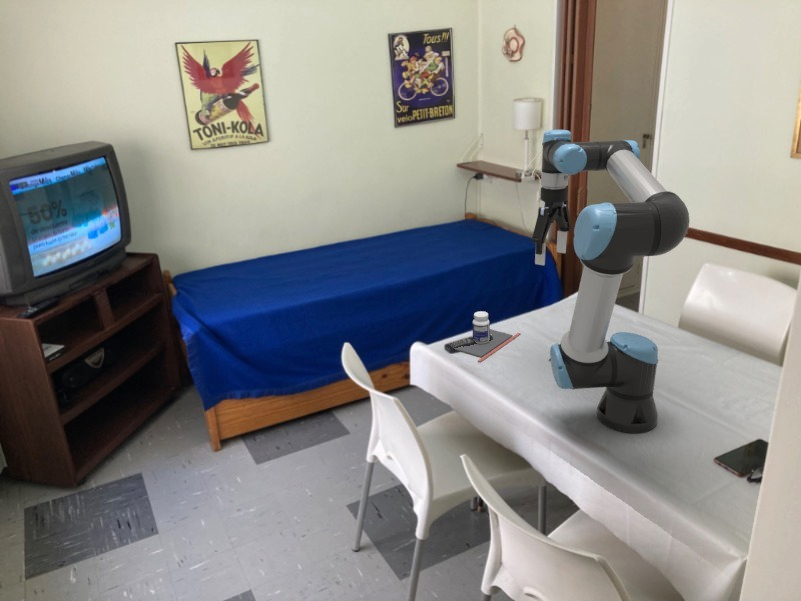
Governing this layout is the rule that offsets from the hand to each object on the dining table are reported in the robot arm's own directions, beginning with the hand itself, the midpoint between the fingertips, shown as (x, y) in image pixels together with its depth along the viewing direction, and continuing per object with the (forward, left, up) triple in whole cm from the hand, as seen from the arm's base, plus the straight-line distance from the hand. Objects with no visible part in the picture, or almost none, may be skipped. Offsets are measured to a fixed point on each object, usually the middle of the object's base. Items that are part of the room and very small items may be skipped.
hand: (550, 258), depth 190 cm
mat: (+2, +24, -35) cm, 42 cm away
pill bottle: (+2, +25, -34) cm, 43 cm away
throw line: (+2, +18, -35) cm, 39 cm away
